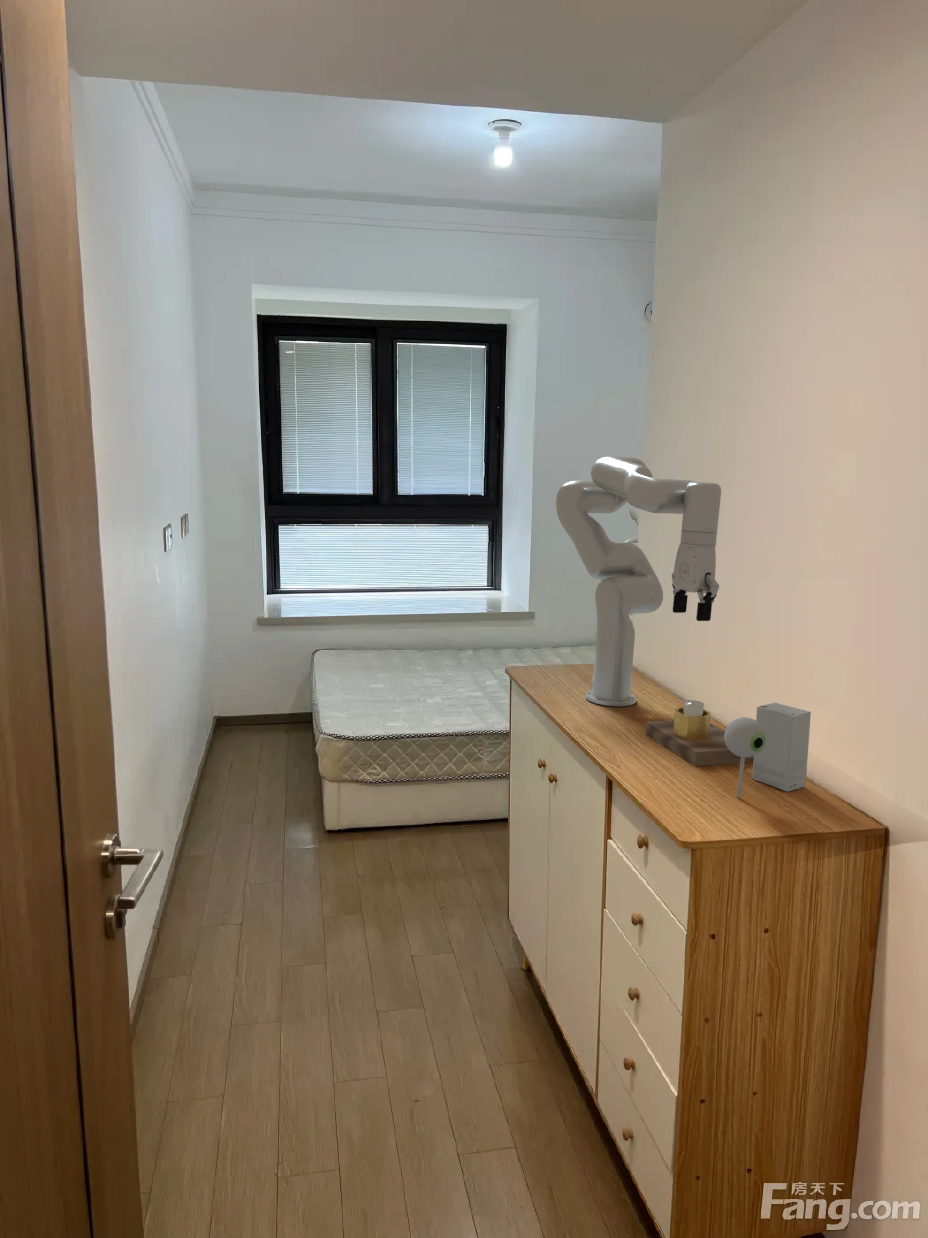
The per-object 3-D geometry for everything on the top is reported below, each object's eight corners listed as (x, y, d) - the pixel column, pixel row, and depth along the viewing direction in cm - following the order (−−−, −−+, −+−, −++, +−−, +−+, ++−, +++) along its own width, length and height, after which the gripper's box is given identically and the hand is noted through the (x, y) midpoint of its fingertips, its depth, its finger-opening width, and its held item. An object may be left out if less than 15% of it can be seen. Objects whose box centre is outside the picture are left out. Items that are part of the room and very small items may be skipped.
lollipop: (736, 807, 147) (745, 725, 145) (709, 792, 154) (717, 714, 151) (767, 802, 150) (777, 722, 148) (740, 788, 157) (748, 711, 154)
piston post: (677, 732, 179) (680, 700, 178) (694, 731, 180) (697, 700, 179) (687, 738, 175) (690, 706, 174) (704, 737, 176) (707, 705, 175)
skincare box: (805, 787, 158) (815, 712, 156) (785, 793, 155) (795, 716, 152) (768, 773, 165) (776, 700, 163) (748, 778, 162) (756, 704, 159)
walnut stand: (645, 734, 186) (646, 721, 186) (700, 731, 190) (701, 718, 190) (694, 766, 167) (696, 752, 167) (754, 762, 171) (756, 748, 171)
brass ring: (666, 730, 180) (668, 707, 179) (696, 728, 182) (698, 706, 181) (684, 741, 173) (687, 717, 172) (715, 739, 175) (717, 716, 175)
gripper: (662, 535, 190) (656, 609, 193) (705, 543, 174) (697, 624, 177) (691, 535, 192) (684, 609, 195) (736, 543, 176) (728, 624, 179)
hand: (690, 616), depth 186 cm, fingers open, 9 cm apart
